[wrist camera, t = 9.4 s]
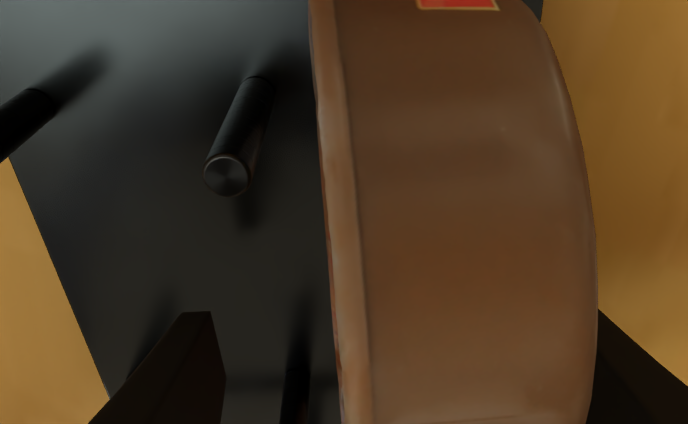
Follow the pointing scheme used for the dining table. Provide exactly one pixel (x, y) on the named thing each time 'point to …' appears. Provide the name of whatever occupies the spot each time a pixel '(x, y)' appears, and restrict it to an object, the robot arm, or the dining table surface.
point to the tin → (453, 214)
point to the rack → (180, 184)
